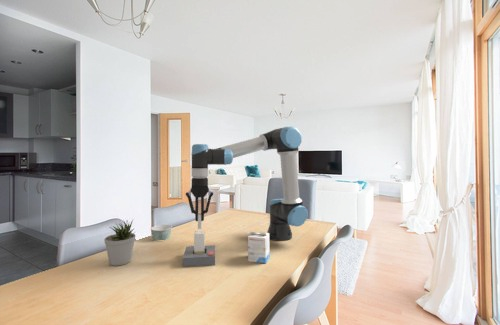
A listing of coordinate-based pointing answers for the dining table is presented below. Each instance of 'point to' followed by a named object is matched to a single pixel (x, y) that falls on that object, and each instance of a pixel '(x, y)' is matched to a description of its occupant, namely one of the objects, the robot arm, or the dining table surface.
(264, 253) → the ink box
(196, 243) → the plug
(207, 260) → the socket
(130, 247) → the potted plant
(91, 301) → the dining table surface
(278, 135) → the robot arm
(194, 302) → the dining table surface
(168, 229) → the food container
